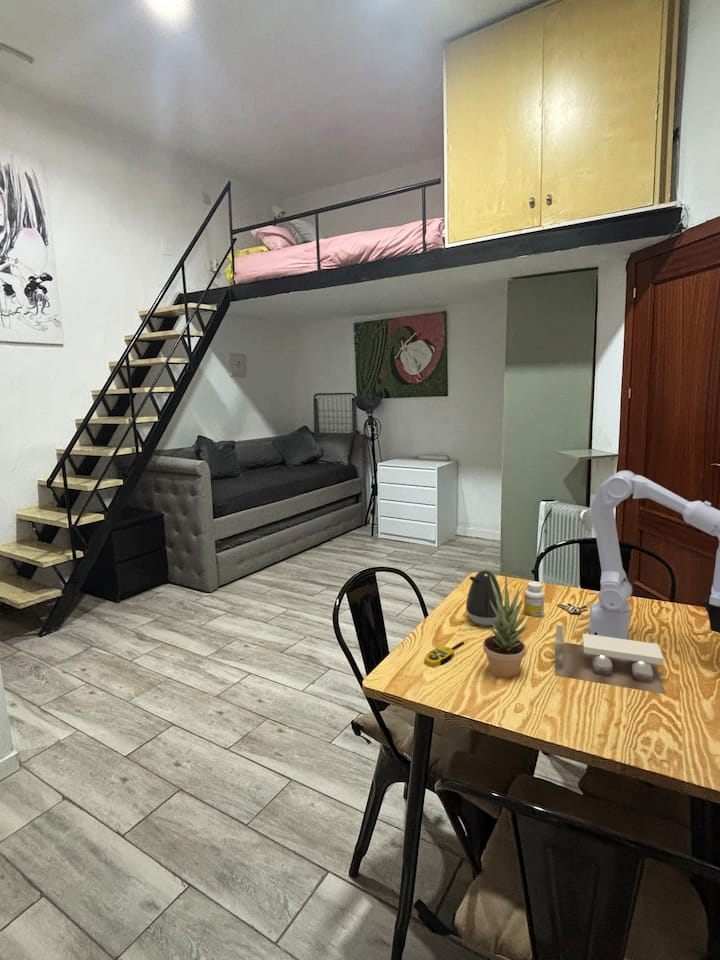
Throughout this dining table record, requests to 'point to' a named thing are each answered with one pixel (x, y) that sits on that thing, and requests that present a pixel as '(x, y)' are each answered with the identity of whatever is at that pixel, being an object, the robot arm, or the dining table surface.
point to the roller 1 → (602, 664)
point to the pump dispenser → (482, 598)
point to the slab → (622, 649)
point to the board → (581, 667)
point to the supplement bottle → (534, 600)
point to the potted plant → (505, 637)
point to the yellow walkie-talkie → (440, 656)
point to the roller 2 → (641, 670)
